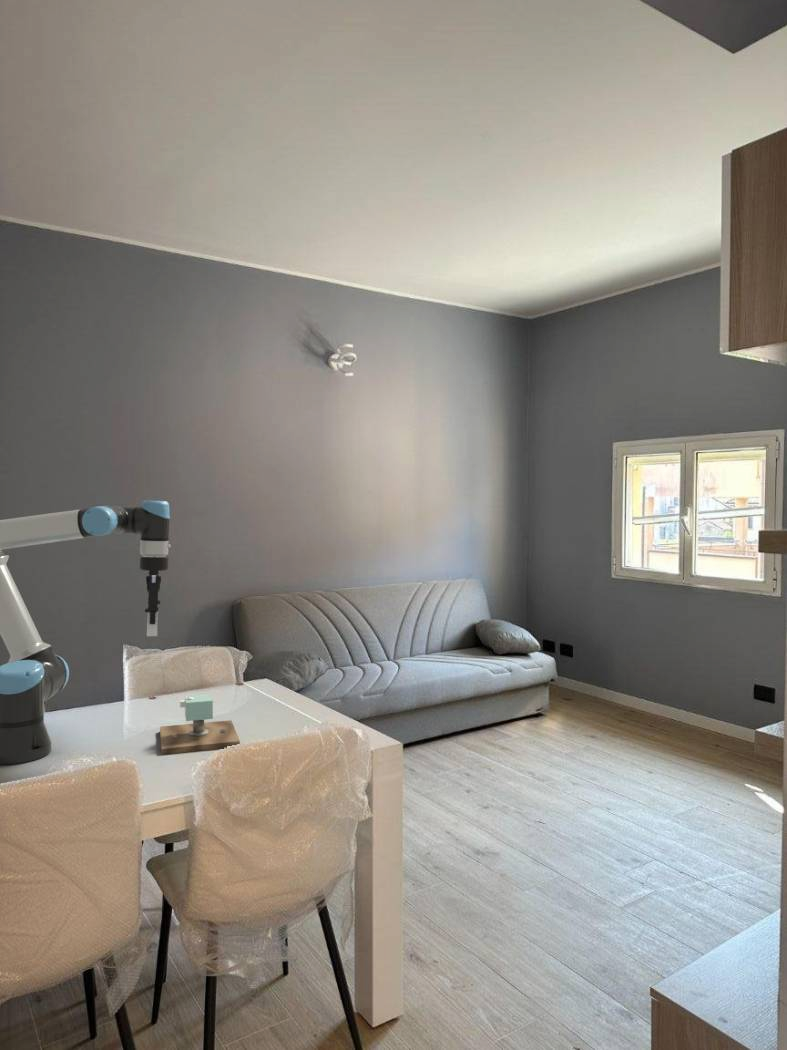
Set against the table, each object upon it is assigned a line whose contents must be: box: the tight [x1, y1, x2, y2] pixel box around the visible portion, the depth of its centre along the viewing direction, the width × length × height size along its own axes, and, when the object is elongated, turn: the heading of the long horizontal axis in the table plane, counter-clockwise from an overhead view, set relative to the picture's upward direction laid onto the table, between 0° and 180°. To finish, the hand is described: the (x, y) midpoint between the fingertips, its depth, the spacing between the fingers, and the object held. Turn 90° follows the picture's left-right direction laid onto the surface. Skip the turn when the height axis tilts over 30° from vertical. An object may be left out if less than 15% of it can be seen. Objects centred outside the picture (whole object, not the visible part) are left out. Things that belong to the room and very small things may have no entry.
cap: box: [179, 693, 214, 722], centre depth 201 cm, size 8×7×5 cm
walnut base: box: [159, 719, 241, 755], centre depth 201 cm, size 20×20×6 cm
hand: (152, 631), depth 203 cm, fingers open, 13 cm apart
